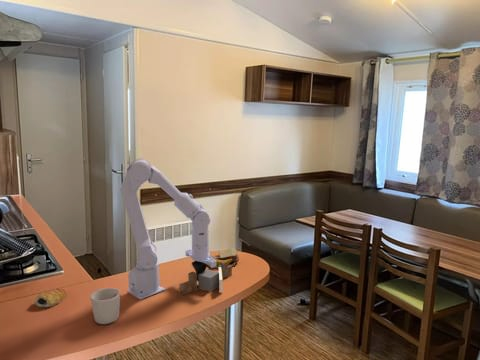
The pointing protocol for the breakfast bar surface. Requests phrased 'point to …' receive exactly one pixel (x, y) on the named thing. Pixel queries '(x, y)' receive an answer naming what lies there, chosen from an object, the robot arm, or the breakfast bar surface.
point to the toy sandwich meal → (226, 257)
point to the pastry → (50, 297)
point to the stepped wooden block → (192, 278)
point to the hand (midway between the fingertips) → (200, 280)
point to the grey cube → (208, 280)
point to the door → (220, 279)
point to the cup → (105, 305)
